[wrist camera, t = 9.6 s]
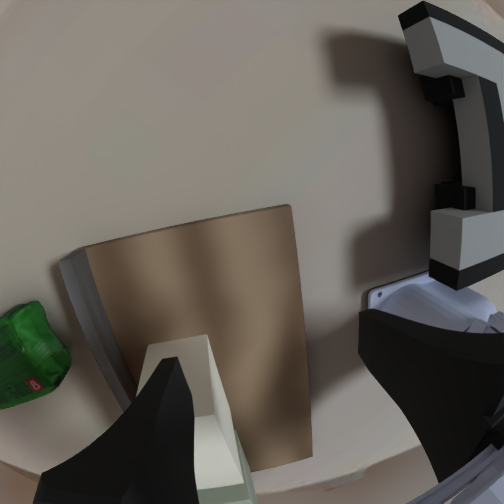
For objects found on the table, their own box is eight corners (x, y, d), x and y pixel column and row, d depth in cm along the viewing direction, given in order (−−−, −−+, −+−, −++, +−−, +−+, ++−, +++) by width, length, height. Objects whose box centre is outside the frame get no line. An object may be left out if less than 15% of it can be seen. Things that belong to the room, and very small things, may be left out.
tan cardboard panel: (286, 204, 20) (304, 210, 16) (309, 450, 28) (319, 471, 24) (76, 248, 18) (56, 262, 15) (184, 475, 26) (185, 498, 22)
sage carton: (235, 429, 23) (250, 499, 16) (249, 468, 25) (263, 525, 18) (186, 437, 23) (189, 506, 15) (208, 475, 25) (215, 532, 17)
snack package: (-34, 338, 17) (-58, 363, 12) (44, 282, 18) (11, 311, 13) (4, 390, 20) (-15, 419, 15) (92, 354, 20) (73, 395, 15)
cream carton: (207, 334, 20) (214, 414, 12) (229, 408, 22) (244, 482, 15) (144, 345, 20) (126, 424, 12) (177, 416, 22) (177, 491, 14)
